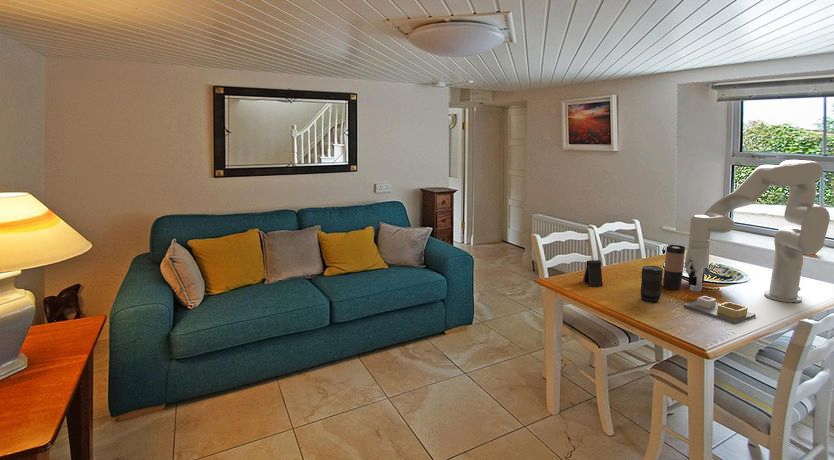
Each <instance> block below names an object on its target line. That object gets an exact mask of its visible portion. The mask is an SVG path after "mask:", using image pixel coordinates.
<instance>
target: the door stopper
mask: <svg viewBox="0 0 834 460" xmlns="http://www.w3.org/2000/svg"><path fill="white" fill-rule="evenodd" d="M583 281H584V282H585V285H587V284H588V285H589V286H588V285H587V286H588V287H590V288H595V287H596V288H597V287H599V286H603V284H604V283H603V275H602V260H600V259H595V260H594V259H593V260H586V266H585V271H584V275H583V279H582V282H583ZM584 282H583V283H584ZM599 288H600V287H599Z"/></svg>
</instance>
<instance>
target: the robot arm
mask: <svg viewBox="0 0 834 460" xmlns="http://www.w3.org/2000/svg"><path fill="white" fill-rule="evenodd" d="M823 174H824V168H823V166H822V164H820V163H819V162H818V161H813V160H799V159H788V160H784V161H782V162H781V163H780V164H779V165H776V164H775V165H774V164H763V165H759V166H758V167H756V168H755V169H754V170H753V171H752V172H751V173H750V174H749V176H748V177H746V179H745V180H743V182H742V183H741V184H740V185H739V186H738V187H736V189H735V190H734V191H733V192H731V193H728V194H727V195H725V196H724V197H721V198H720V199H718V200H717V201H715V202H714V203H713V204H712V205H710V206H709V208H707V210H706V211H705V213H704V214H695V215H692V216H691V217H690V223H689V234H688V235H689V236H688V247H687V249H686V252H685V253H686V254H685V258H684V268H685V272H686V273H687V275H688V281H687V282H688V285H689V286H690V285H694V286H696V283H697V277H696V274H697V270H700V269H703V276H702V285H703V284H704V281H705V274H706V271H707V269H708V267H709V263H710V242H711V241H710V240H711V233H715V234H717V233H718V234H726V233H727V234H728V233H730V232H731V231H733V230H734V228H735V225H736V224H735V221H734V220H733V218H731V217H730V216H727V215H728V213H730V212H732V211H733V210H736V209H738V208H742V207H746V206H747V207H748V206H751V205H752V204H755V203H756V202H757V201H758V200H759V199H760V198H761V197H762V195H763V194H765V192H767V191H768V189H769V188H771V187H772V188H773V187H775V188H787V187H788V190H789V192H788V197H787V201H786V205H785V209H784V214H783V215H784V220H786V221H787V222H788V223H790V224H793V225H797V226H800V228H799V227H796V226H783V227H780V229H778V230H777V231H776V232H775V234H774V238H773V239H774V240H773V241H774V258H773V265H772V270H771V271H772V272H771V277H770V284H769V290H766V291H765V292H764V294H763V295H764V296H765V297H766V298H768V299H771V300H774V301H778V302H782V303H783V302H784V303H792V302H795V303H800V302H802V300H803V298H802V297H801V296H800V295H798V294H799V291H801V287H800V282H801V278H802V277H801V275H802V269H803V265H804V256H803V255H814V254H817V253H818V252H819V251H821V249H822V247H823V246H824V243H825V239H826V236H827V232H828V228H829V225H830V220H831V219H830V217H831V216H830V212H829V210H828V209H827V208H826V207H824V206H822V205H820V204H819V205H818V204H815V202H816V196H817V195H816V194H817V186H816V183H815V182H816V181H818V180H819V179H821V178H822V176H823ZM692 268H694V269H692ZM692 271H694V273H693V272H692Z"/></svg>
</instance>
